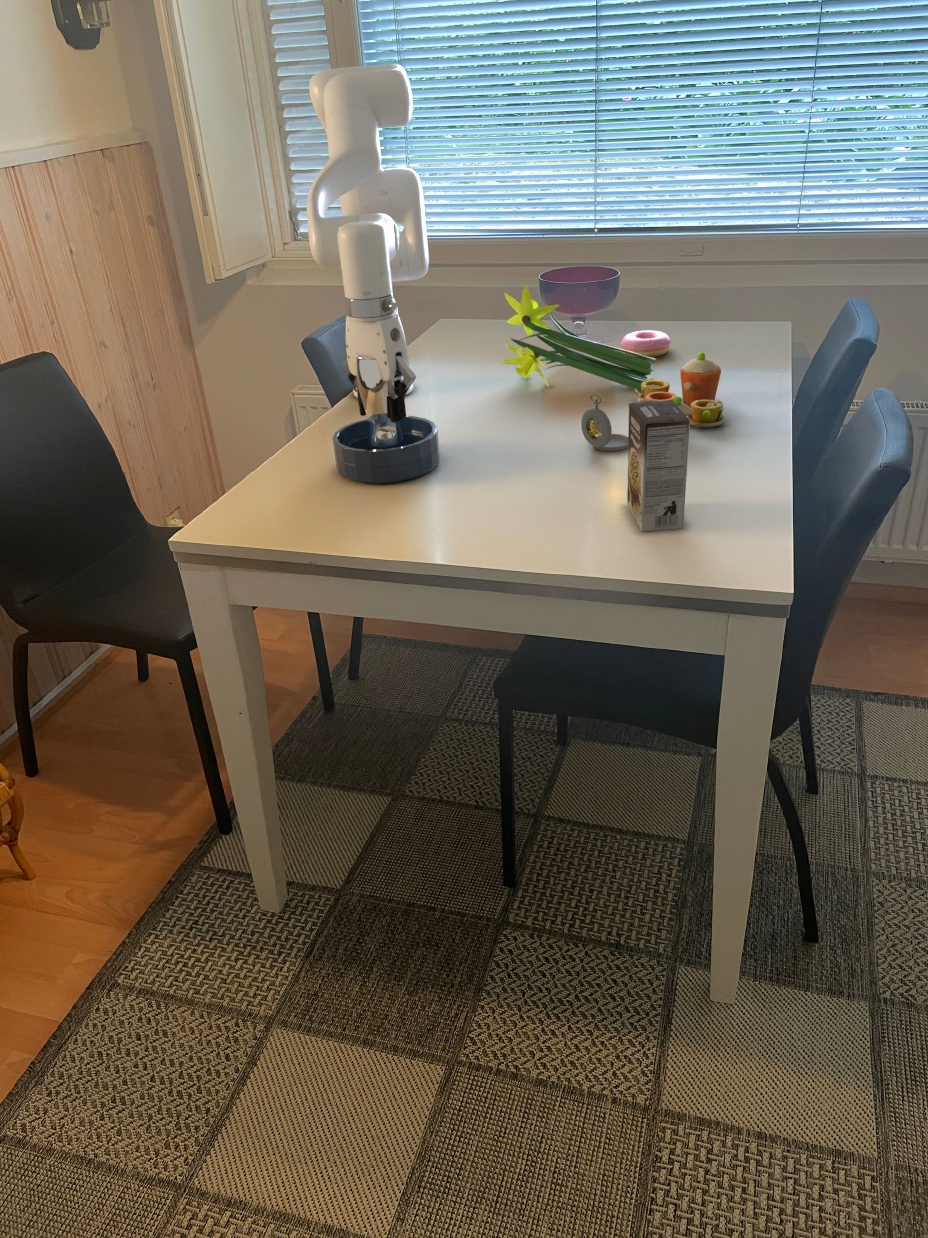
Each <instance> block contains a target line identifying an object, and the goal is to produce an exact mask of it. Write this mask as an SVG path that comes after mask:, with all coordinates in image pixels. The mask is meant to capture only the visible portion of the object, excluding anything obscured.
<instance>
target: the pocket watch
mask: <svg viewBox="0 0 928 1238" xmlns="http://www.w3.org/2000/svg"><path fill="white" fill-rule="evenodd" d="M589 397H590V400H591V401H592V402H593V405H594V407H591V408H588V409H586V411H585V412H583V414H582V416H581V420H580V428H581V432H582V435H583V437H584V439H585V441H587V443H588V444H589V445H591V446H592V447H593V448H595V449H597V450H600V451H608V452H609V451H610V452H611V451H613V452H614V451H620V450H623V449H626V448H628V436H627V435H624V434H621V433H620V434H619V433H612V432H613V429H612V423H611V420H610V419H609V416H608V415H607V413H606V412H605V411H603V409H601V408H599V406H600V405H601V404H602V398H601V397H600V396H599V395H598V394H590V396H589ZM593 397H596V398H595V399H594V398H593Z"/></svg>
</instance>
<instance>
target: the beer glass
mask: <svg viewBox="0 0 928 1238" xmlns="http://www.w3.org/2000/svg"><path fill="white" fill-rule="evenodd" d="M355 357H356V374H357V383H358V389H359V393H360V397H361V400H362V403H363V406H364V409H365V413H366V415H365V416H366V419H367V421H368V444H369V445H371V446H373V447H390V446H395V445H397V444H400V443H401V442H402V441H403V439H404V438H403V434H402V430H401V427H400V423H399V421H397V422H395V423H394V422H391V420H390V411H389V402H388V400H389V399H390V398H391V396H390V393H389V391H388V386H387V382H385V381H383V380H382V378H381V375H380V372H379V369H378V366H377V362H376V358H363V357H359V356H357V355H355ZM396 376H397V372H396V371H395V373H394V377H396ZM393 384H394V386H395V389H396V388H397V386H398V385H397V381H394V382H393Z"/></svg>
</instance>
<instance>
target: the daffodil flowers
mask: <svg viewBox="0 0 928 1238" xmlns="http://www.w3.org/2000/svg"><path fill="white" fill-rule="evenodd" d="M530 292H531V291H530V290H529V287H528V285H527V284H525V285H524V287H523V290H522V292H521V296H520V302H519V301H518V300H517V299H515V298H514V297H513V296H511V295H510V294H508V293H506V292H503V294H504V297H505V299H506V302H508V305H509V306H510V307H511V308H512V309H513V310H514V311H515V312H516V314H514V315H513V316H511V317H510V318H509V319H508V320H507V321H506V323H507V324H510V325H512V326H520V325H523V328H524V331H525V332H526V337H523V338H521V339H515V338H510V340H511V341H512V342H513V343H514V344H516V345H518V346H519V347H522V348H523V349H524V350H523V349H521V348H519V347H517V346H515V345H510V344H509V345H508V344H504V346H505V347H506V348H507V349H509V350H511V351H513V352H514V353H515V354H517V355H519V356H511V357H508V358H506V359H504V360H503V361H502V362H501V364H502V365H518V366H516V367H515V368H514V370H515V372H516V373H517V374H518V375H519V376H521V377H522V378H525V379H526V380H527V379H528V378H529V377H530V376H531V375H532V374H533V373H534V371H536V373H537V374H538V375H539V376H540V377H541V378H542V379H543V380H544V382H545V384H546V386H547V387H548V388H550V386H549V384H548V382H547V379H546V378H545V375H544V374H543V372H542V370H541V368H540V366H544V367H546V368H544V369H543V371H545V370H548V369H551V368H555V367H561V366H562V367H563V366H564V367H571V368H574V369H577V370H580V371H582V372H585V373H587V374H590V375H593V376H596V377H599V378H603V379H605V380H608V381H611V382H614V383H617V384H620V385H622V386H626V387H628V388H631V389H633V390H635V389H636V390H637V391H639V392H642V388H641V384H642V382H644V381H648V380H649V379H648V376H650V375H651V373H652V372H654V368H653V367H652V362H657V358H655V357H647V356H644V355H640V354H637V353H634V352H630V351H627V350H623V349H622V348H619V347H615V346H611V345H608V344H604V343H600V342H596V341H592V340H589V339H586V338H584V337H581V336H580V335H578V334H576V333H574V332H572V331H571V330H570V329H567V328H566V327H565V326H564V325H562V323H560V321H558V319H557V318H556V316H555V315H554V314H553V313H552V312H553V311H554V310H555V309H557V308H558V307H560V306H561V304H560V303H559V304H558V303H557V304H552V305H544V306H539V304H538V302H537V301H536V300H535V299H532V296H531V293H530ZM550 313H551V315H550ZM546 315H548V316H549V318H550V320H551V321H552V323H553V324H554V326H555V327H556V328H557V330H559V331H557V330H554V329H552V328H551V327H549V326H548V324H547V323H545V322H544V321H543V320H542V319H541V318H542V317H544V316H546ZM533 332H537V333H533ZM534 337H536V338H537V339H539V340H540V341H541V342H543V343H544V344H546V345H547V346H549V347H550V348H552V349H553V350H547V349H545V348H542V347H539V346H536V345H533V344H530V343H527V342H525V341H523V340H527V339H529V338H534ZM626 353H628V354H632V355H635V356H638V357H634V356H630V355H628V354H626ZM540 357H542V358H540ZM538 358H540V359H538ZM651 361H652V362H651ZM544 362H546V363H544ZM553 363H556V364H554V365H551V366H548V365H549V364H553Z"/></svg>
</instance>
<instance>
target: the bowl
mask: <svg viewBox="0 0 928 1238" xmlns="http://www.w3.org/2000/svg"><path fill="white" fill-rule="evenodd" d="M399 423H400V427H401V430H402V434H403V438H404V439H403V441H402V442H401V443H400V444H397V445H395V446H390V447H373V446H371V445H369V444H368V421H367V418H363V419H361V420H357V421H353V422H350V423H348V424H346V425H344V426H342V427H340V428H339V429H338V430H336V431H335V432H334V434H333V436H332V437H331V439H332V446H333V452H334V460H335V467H336V470H337V472H338V474H339V475H341V476H343V477H344V478H346V479H349V480H351V481H354V482H356V483H361V484H372V485H385V484H395V483H401V482H405V481H406V482H407V481H410V480H413V479H416V478H419V477H422V476H424V475H425V474H427V473H429V472H430V471H432V470H434V469H435V467H436V466H437V465H438V464H439V463H440V459H441V456H440V455H441V454H440V443H439V432H438V426H437V425H436V424H435V422H434V421H431V420H430V419H427V418H425V417H419V416H414V415H406V418H404V419H402V420H400V421H399Z"/></svg>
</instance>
